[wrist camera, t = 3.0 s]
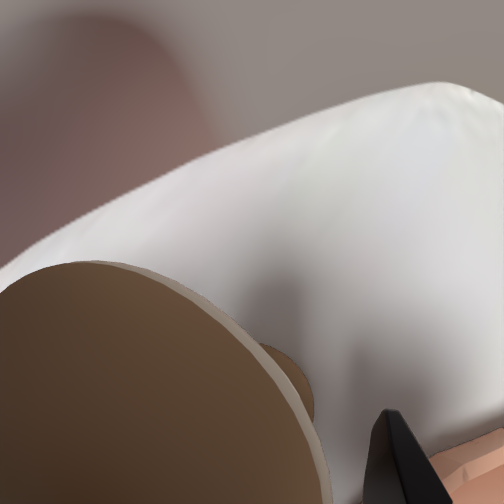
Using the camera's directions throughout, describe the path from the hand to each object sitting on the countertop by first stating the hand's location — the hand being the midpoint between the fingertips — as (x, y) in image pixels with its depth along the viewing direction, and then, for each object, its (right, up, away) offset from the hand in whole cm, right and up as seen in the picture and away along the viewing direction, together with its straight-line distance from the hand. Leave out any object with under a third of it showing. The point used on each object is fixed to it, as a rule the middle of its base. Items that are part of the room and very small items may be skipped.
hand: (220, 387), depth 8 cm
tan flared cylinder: (0, -4, +6) cm, 7 cm away
